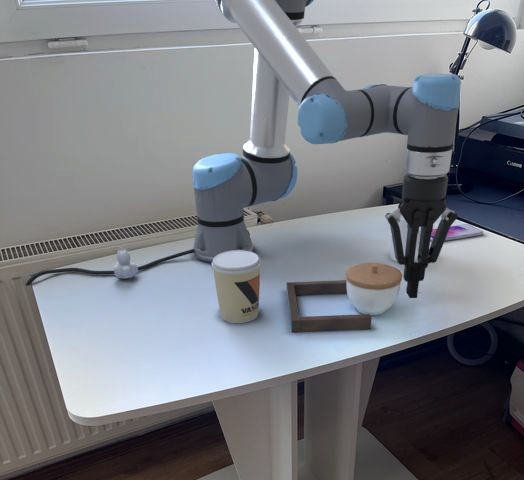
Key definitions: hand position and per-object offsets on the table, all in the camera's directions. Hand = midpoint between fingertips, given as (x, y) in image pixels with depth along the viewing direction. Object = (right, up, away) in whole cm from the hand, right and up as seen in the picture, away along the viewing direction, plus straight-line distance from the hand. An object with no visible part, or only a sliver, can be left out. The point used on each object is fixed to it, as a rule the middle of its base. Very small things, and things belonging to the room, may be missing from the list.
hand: (411, 295), depth 102 cm
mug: (+6, +11, +21) cm, 25 cm away
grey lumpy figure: (-62, +6, +18) cm, 65 cm away
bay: (-17, -3, +2) cm, 17 cm away
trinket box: (-8, -3, +2) cm, 8 cm away
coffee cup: (-34, -4, +1) cm, 35 cm away
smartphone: (+21, +20, +35) cm, 45 cm away
